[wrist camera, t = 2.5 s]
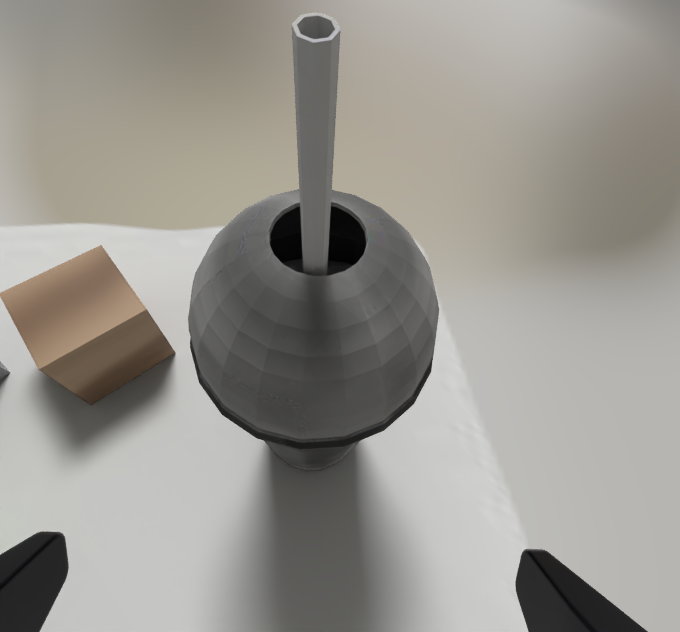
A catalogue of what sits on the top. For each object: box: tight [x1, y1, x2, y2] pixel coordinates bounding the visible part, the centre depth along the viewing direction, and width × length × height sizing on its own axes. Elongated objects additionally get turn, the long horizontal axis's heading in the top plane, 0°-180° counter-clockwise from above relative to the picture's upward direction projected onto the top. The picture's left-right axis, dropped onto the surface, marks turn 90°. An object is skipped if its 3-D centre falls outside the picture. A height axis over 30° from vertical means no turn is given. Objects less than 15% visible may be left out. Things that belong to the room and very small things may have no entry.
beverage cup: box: [188, 12, 439, 471], centre depth 13 cm, size 7×7×20 cm
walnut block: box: [0, 245, 175, 405], centre depth 22 cm, size 5×5×5 cm
